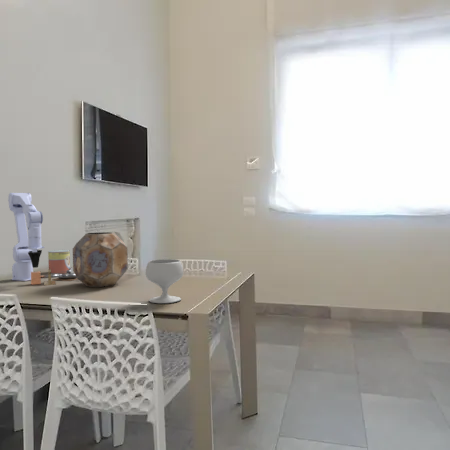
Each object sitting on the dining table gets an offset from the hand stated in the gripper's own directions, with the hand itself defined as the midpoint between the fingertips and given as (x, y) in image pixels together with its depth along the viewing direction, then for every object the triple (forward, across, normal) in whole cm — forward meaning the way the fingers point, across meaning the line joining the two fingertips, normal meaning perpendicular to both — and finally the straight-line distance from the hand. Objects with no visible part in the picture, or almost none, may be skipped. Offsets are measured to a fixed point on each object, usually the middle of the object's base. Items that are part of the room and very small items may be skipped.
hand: (35, 266), depth 202 cm
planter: (+9, -15, -28) cm, 33 cm away
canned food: (+8, +36, -11) cm, 39 cm away
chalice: (+9, -61, -46) cm, 77 cm away
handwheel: (+8, +10, -15) cm, 20 cm away
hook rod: (+8, 0, -5) cm, 9 cm away
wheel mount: (+8, +10, -15) cm, 20 cm away
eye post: (+8, 0, -6) cm, 10 cm away
